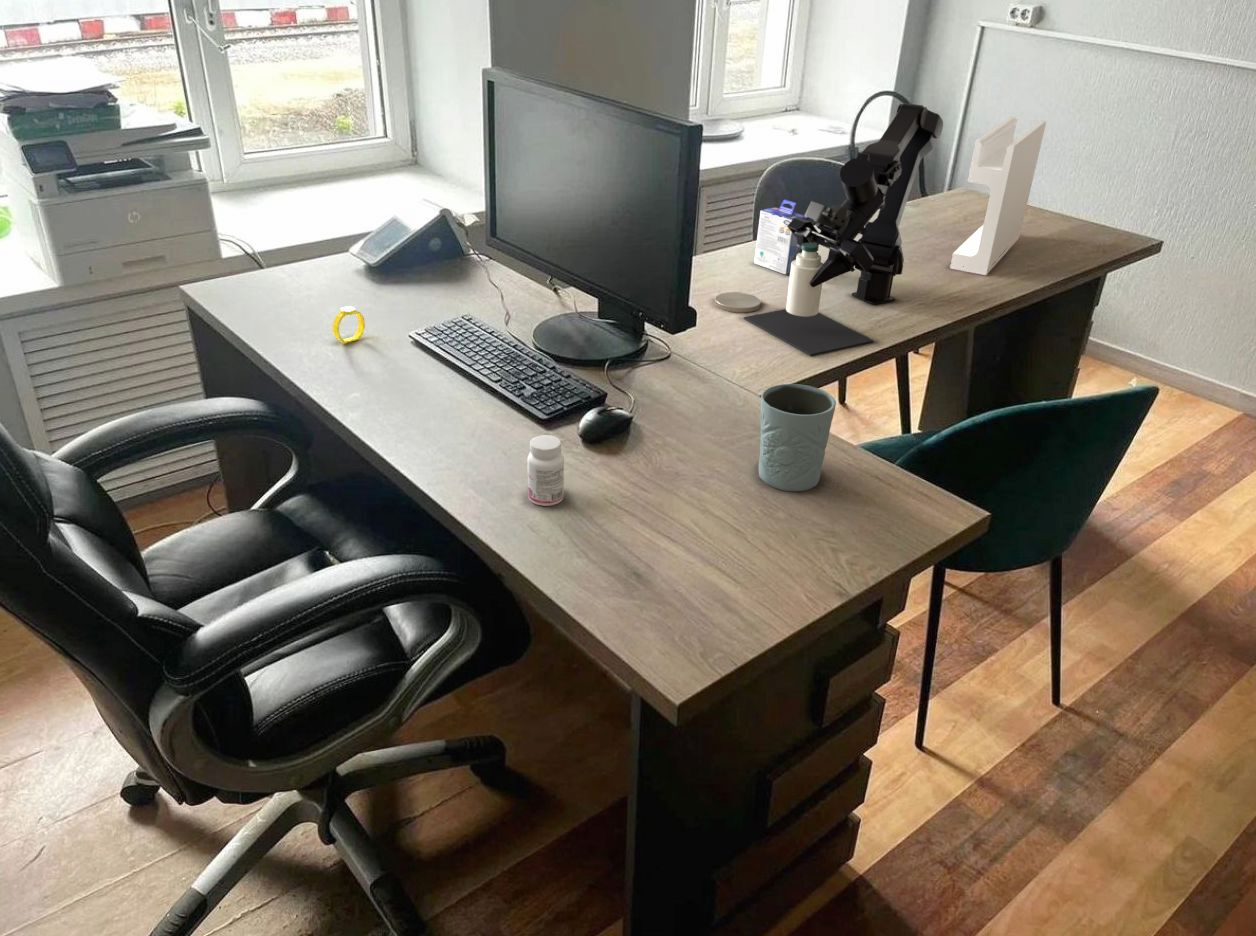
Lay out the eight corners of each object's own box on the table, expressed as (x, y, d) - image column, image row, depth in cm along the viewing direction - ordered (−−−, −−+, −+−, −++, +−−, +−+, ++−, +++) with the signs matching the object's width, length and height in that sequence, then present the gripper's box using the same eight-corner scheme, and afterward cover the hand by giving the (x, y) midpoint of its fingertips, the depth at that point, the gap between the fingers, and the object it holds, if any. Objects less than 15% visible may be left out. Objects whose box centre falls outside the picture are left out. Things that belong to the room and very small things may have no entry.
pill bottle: (527, 488, 136) (527, 433, 131) (563, 488, 136) (563, 433, 132) (527, 507, 131) (527, 450, 127) (564, 506, 132) (564, 450, 128)
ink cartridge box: (803, 271, 220) (811, 205, 213) (786, 276, 217) (794, 209, 210) (769, 259, 227) (776, 195, 219) (753, 264, 223) (759, 198, 216)
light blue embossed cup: (775, 499, 136) (785, 419, 130) (739, 464, 144) (747, 388, 138) (838, 486, 139) (851, 408, 133) (799, 453, 147) (810, 378, 141)
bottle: (804, 303, 191) (812, 238, 184) (824, 313, 186) (834, 247, 180) (779, 308, 188) (786, 242, 182) (799, 318, 183) (808, 252, 177)
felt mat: (804, 307, 201) (804, 305, 201) (873, 342, 186) (873, 340, 186) (743, 318, 194) (744, 316, 194) (810, 356, 179) (810, 354, 179)
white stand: (986, 275, 223) (1014, 145, 209) (949, 268, 226) (975, 140, 212) (1019, 238, 249) (1046, 121, 236) (986, 232, 253) (1011, 116, 239)
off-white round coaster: (742, 294, 206) (742, 289, 206) (768, 308, 199) (769, 303, 199) (705, 300, 202) (706, 295, 201) (732, 315, 195) (732, 310, 195)
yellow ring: (341, 347, 174) (338, 315, 171) (331, 343, 176) (327, 311, 173) (369, 338, 178) (365, 306, 176) (358, 334, 180) (355, 302, 177)
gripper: (801, 173, 184) (747, 239, 185) (871, 198, 171) (812, 269, 171) (828, 210, 192) (776, 274, 192) (897, 237, 178) (841, 306, 179)
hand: (800, 280), depth 183 cm, fingers closed on bottle, 6 cm apart
